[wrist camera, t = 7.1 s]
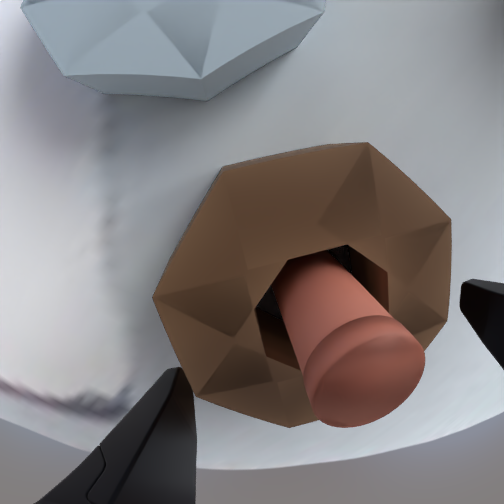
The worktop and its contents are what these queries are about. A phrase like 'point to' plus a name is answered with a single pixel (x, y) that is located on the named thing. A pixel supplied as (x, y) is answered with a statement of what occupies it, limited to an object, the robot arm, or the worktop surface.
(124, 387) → the worktop surface
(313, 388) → the pink rounded cylinder
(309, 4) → the blue bead
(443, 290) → the walnut bead
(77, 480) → the robot arm
